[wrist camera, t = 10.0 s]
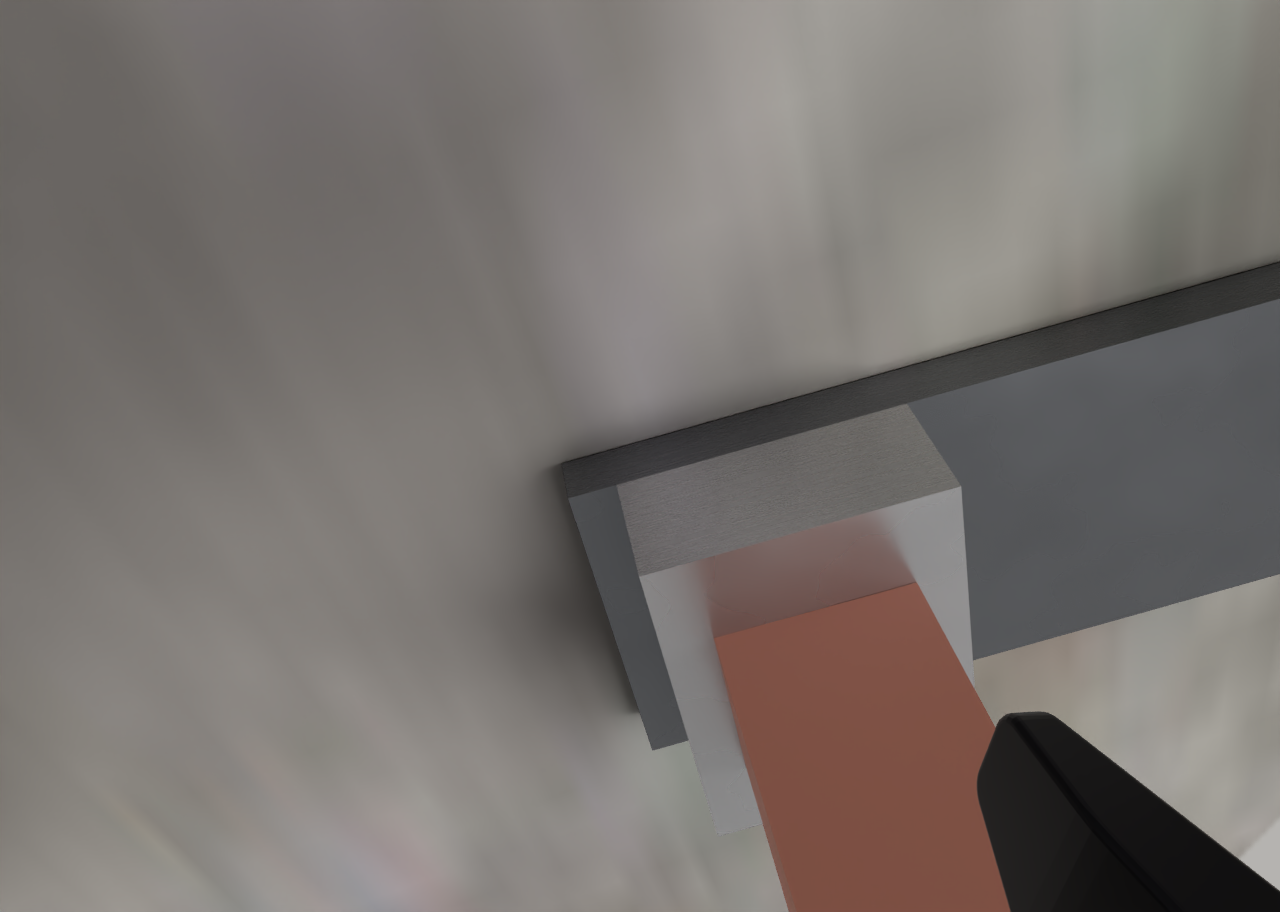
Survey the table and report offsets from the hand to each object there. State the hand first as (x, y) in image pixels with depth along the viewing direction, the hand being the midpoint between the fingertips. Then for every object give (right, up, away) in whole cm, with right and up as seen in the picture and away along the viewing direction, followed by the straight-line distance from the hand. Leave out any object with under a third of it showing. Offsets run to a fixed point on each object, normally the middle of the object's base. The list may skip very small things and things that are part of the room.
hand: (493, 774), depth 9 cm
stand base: (+8, +2, +17) cm, 19 cm away
